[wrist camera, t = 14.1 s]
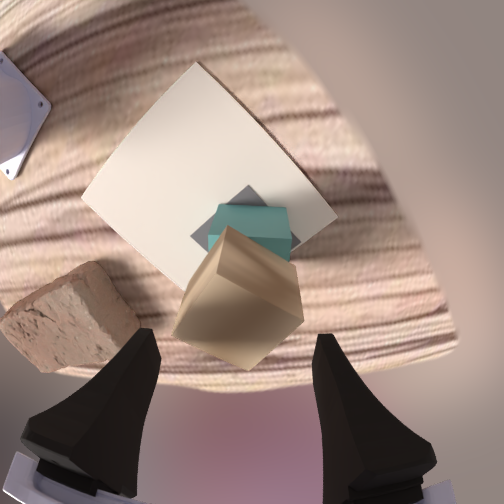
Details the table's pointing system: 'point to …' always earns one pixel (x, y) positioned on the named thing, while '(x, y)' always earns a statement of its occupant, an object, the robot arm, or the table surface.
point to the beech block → (239, 301)
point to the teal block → (255, 226)
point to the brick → (71, 321)
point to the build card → (197, 177)
